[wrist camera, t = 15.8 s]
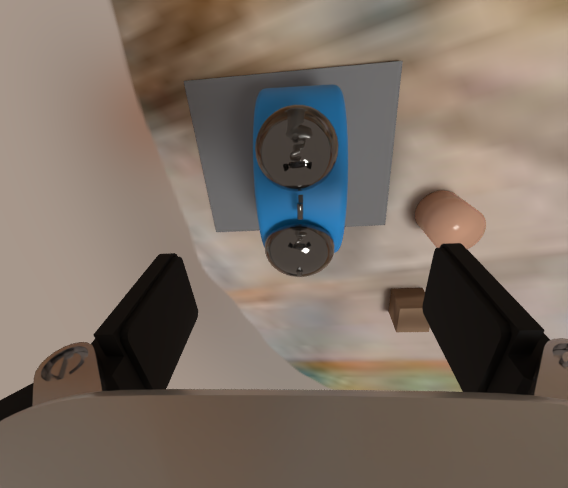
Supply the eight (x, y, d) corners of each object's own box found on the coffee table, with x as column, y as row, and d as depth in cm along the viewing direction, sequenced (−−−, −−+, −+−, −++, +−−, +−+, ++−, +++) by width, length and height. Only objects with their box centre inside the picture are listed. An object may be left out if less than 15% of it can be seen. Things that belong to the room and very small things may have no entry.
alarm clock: (328, 214, 33) (346, 302, 19) (275, 215, 33) (257, 302, 20) (332, 83, 26) (362, 84, 13) (266, 87, 27) (230, 91, 14)
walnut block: (391, 288, 38) (400, 308, 35) (422, 287, 38) (434, 308, 34) (388, 310, 40) (396, 332, 37) (417, 310, 40) (428, 331, 36)
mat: (186, 81, 27) (183, 81, 27) (399, 61, 26) (402, 60, 25) (218, 229, 35) (216, 232, 35) (383, 222, 33) (384, 224, 33)
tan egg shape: (418, 191, 31) (436, 209, 27) (465, 189, 31) (492, 206, 27) (412, 231, 34) (428, 253, 30) (455, 230, 33) (478, 251, 29)
